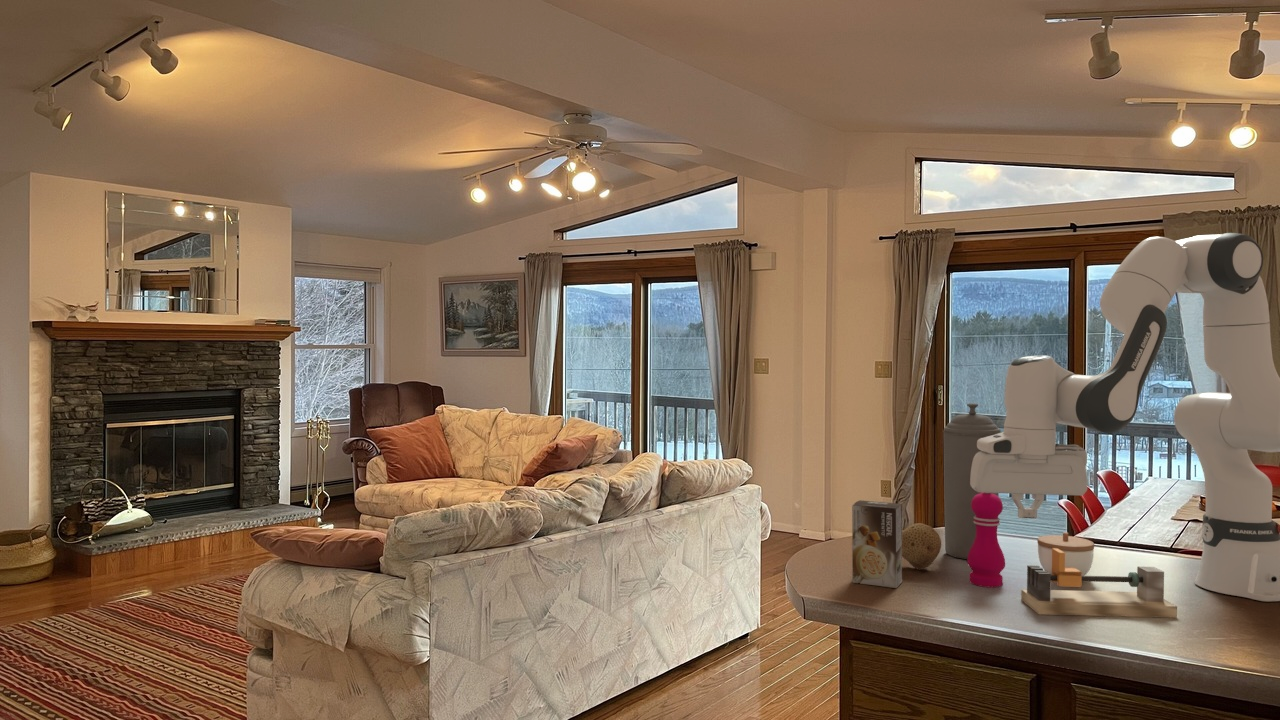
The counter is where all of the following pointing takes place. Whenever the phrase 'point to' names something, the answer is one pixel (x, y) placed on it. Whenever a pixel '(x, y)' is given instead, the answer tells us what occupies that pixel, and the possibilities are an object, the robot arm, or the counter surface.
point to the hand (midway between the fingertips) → (1027, 517)
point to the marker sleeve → (1064, 571)
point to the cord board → (1100, 595)
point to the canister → (962, 478)
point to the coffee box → (877, 543)
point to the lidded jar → (1066, 551)
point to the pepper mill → (986, 542)
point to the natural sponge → (920, 545)
